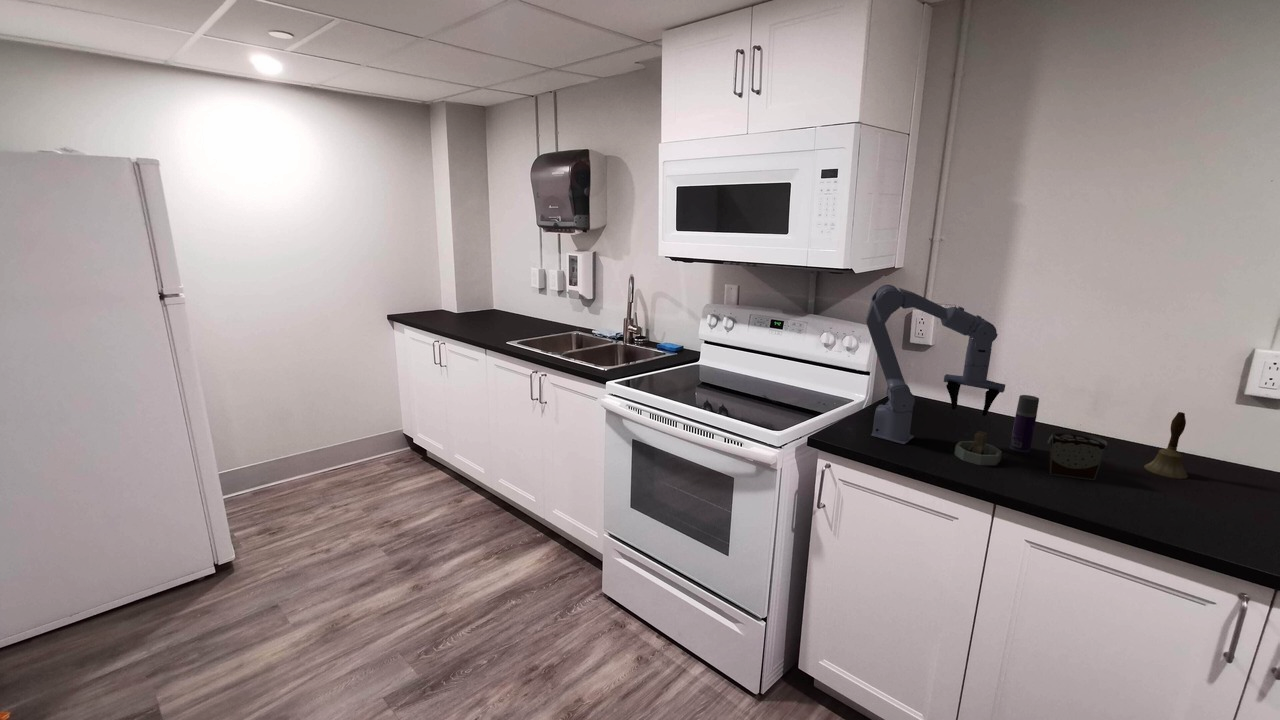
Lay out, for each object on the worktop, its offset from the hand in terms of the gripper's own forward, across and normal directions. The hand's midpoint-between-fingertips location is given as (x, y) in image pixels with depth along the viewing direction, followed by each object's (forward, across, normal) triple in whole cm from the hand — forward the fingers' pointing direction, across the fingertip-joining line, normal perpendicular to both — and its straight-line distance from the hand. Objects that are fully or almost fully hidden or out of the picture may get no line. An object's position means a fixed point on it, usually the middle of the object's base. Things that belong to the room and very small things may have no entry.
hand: (969, 411), depth 159 cm
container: (+10, +12, +8) cm, 18 cm away
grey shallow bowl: (+10, +5, -7) cm, 13 cm away
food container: (+10, +24, -1) cm, 26 cm away
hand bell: (+10, +42, +17) cm, 46 cm away
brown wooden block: (+9, +5, -7) cm, 13 cm away
